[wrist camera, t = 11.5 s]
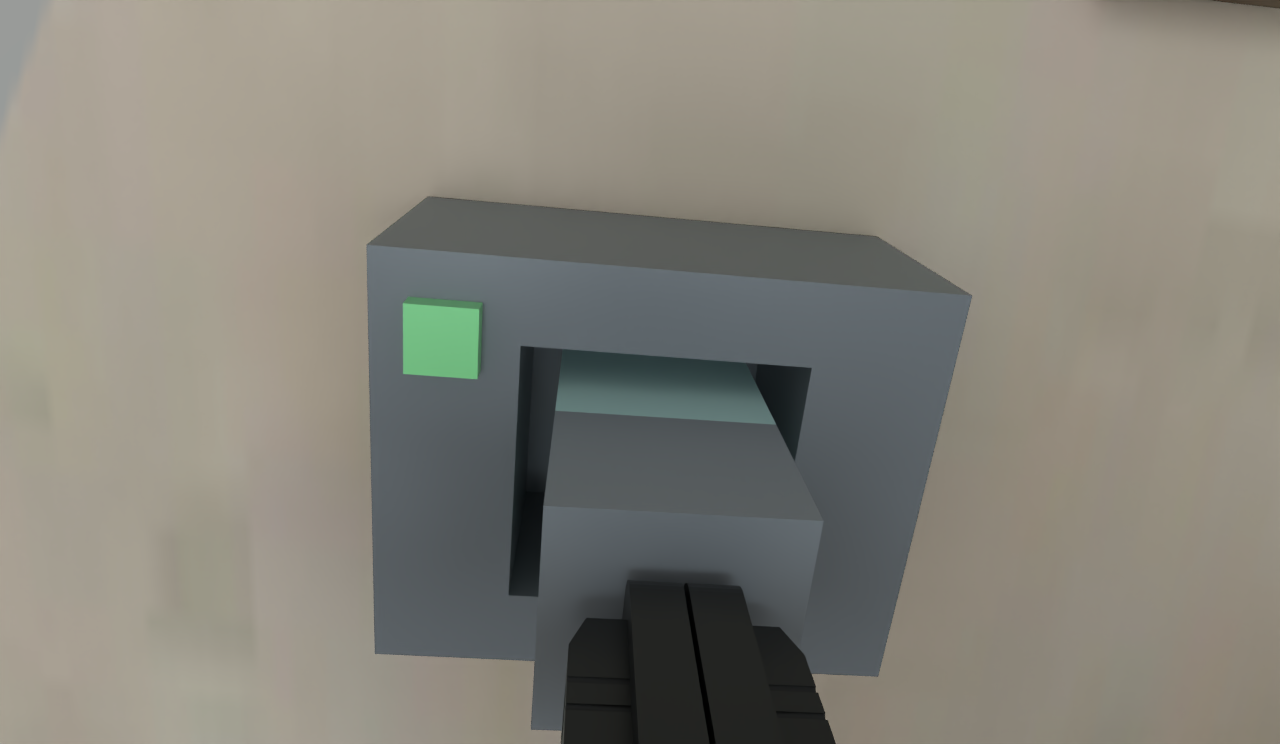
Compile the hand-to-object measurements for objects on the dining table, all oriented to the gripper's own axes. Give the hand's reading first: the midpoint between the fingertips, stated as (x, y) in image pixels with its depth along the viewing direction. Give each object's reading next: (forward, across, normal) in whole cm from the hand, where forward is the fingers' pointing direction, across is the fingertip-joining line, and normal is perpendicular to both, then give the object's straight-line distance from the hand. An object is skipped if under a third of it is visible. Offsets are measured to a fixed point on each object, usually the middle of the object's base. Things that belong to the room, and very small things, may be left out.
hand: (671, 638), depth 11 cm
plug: (+8, 0, 0) cm, 8 cm away
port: (+9, 0, 0) cm, 9 cm away
